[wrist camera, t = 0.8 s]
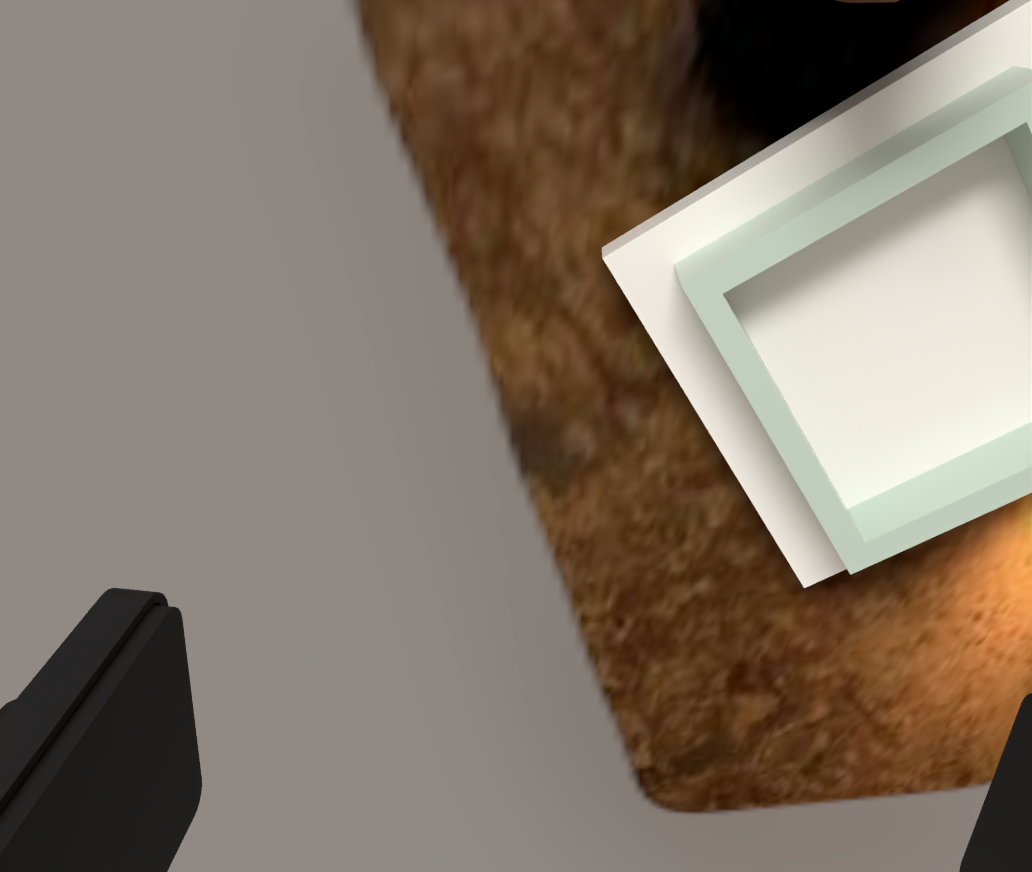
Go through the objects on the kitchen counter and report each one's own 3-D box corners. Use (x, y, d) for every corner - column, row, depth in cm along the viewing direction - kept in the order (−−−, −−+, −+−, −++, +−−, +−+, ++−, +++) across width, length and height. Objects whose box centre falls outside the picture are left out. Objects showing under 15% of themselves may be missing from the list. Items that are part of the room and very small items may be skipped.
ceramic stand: (1038, -17, 30) (1100, -18, 26) (1193, 384, 35) (1263, 428, 31) (601, 247, 34) (603, 277, 31) (796, 567, 40) (818, 625, 36)
